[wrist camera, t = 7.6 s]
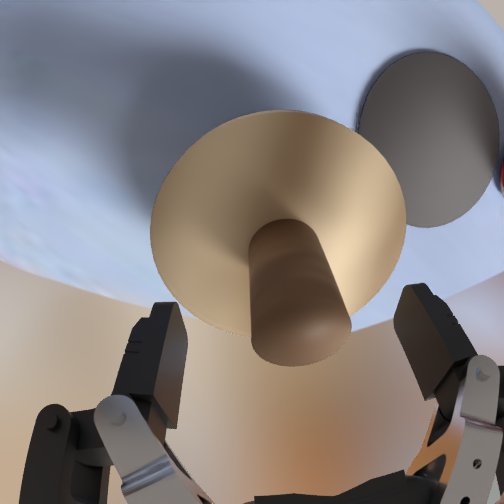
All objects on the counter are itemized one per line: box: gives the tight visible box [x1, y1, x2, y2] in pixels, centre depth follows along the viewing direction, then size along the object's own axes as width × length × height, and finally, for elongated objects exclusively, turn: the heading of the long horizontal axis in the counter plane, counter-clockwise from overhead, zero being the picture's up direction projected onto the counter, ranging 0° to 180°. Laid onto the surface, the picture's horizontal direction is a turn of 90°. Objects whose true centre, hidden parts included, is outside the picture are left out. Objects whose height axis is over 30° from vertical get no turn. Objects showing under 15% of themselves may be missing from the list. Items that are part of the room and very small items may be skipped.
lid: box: [150, 110, 406, 366], centre depth 11 cm, size 12×12×6 cm
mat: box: [358, 53, 499, 228], centre depth 16 cm, size 13×13×1 cm
